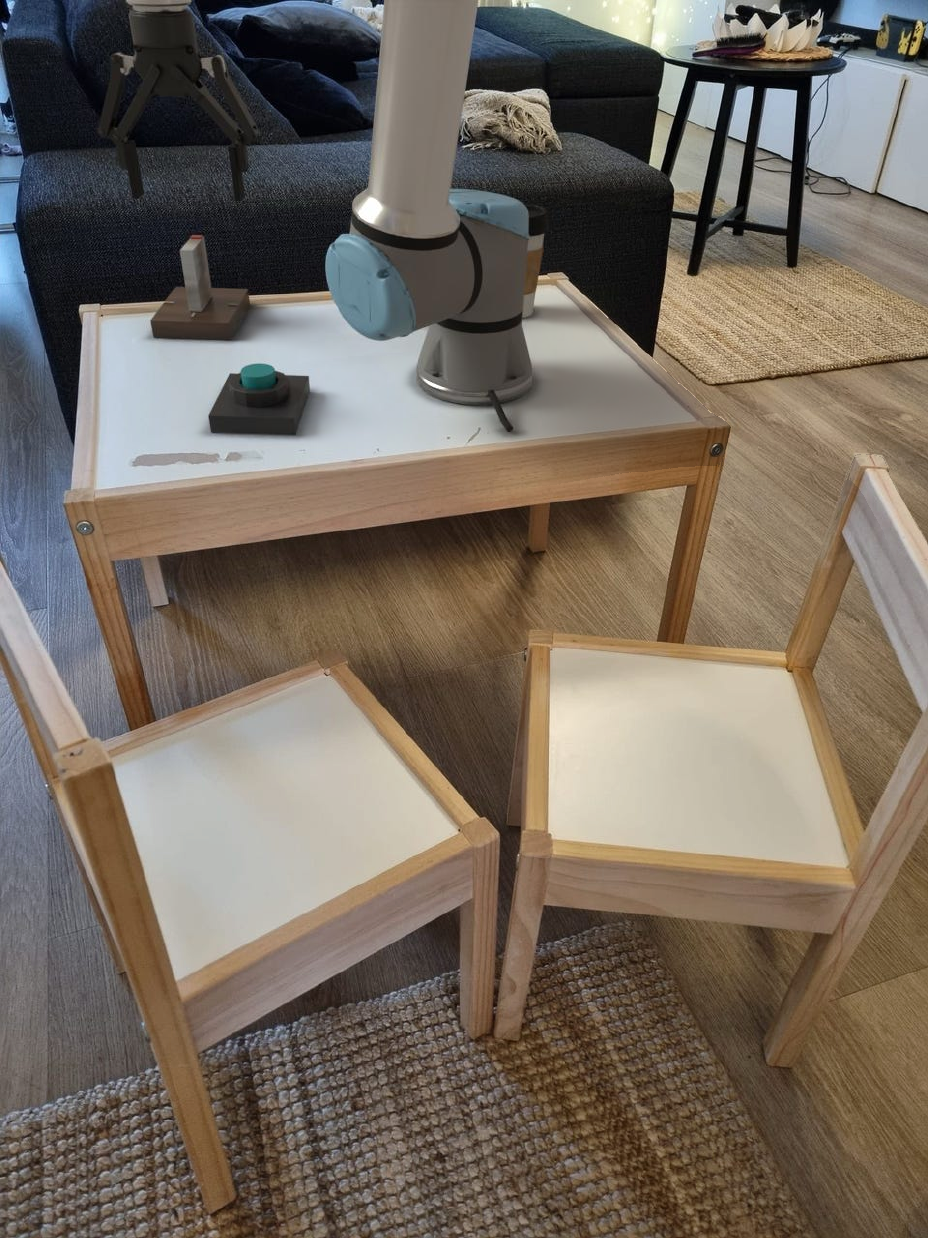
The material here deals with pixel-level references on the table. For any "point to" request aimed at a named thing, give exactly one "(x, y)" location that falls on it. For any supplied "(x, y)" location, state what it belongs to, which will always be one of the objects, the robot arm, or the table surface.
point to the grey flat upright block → (196, 273)
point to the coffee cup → (534, 254)
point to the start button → (258, 376)
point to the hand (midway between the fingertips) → (189, 197)
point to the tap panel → (201, 315)
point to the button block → (260, 406)
